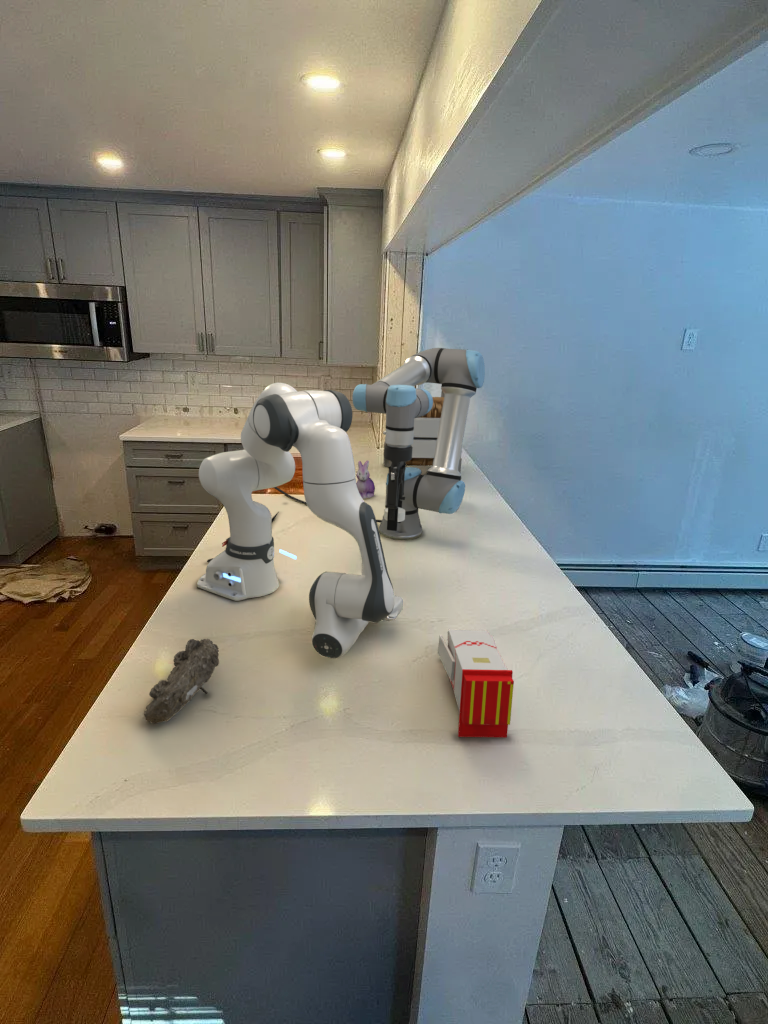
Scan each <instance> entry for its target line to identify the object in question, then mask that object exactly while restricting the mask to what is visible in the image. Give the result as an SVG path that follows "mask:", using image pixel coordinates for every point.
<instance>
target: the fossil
mask: <svg viewBox="0 0 768 1024" xmlns="http://www.w3.org/2000/svg"><path fill="white" fill-rule="evenodd" d="M184 648H185V649H184V650H179V651H177V652H176V654H175V655H174V656H173V658H174V659H173V668H172V670H170V673H169V674H168V676H167V678H166V679H161V680H159V681H158V683H155V685H154V686H153V687H152V688H150V691H149V693H148V695H149V697H150V698H152V700H151V701H150V702H149V704H148V705H146V707H145V710H144V718H145V721H146V722H149V723H151V724H158V723H164V722H165V723H166V722H168V721H170V720H171V718H172V717H174V716H175V715H176V714H177V713H179V712H180V711H181V710H182V709H183V708H184V707H185V706H186V705H187V704H188V703H189V702H190V701H192V699H193V698H194V696H195V694H197V693H198V692H199V691H202V693H204V694H205V695H208V691H207V690H206V689H205V688H204V687H202V686H203V685H204V683H205V684H206V683H208V682H209V680H210V679H211V677H212V675H213V673H214V671H215V669H216V668H217V667H218V666H219V664H220V660H219V659H220V658H219V656H220V653H219V652H220V650H219V646H218V645H217V644H216V643H214V642H213V640H212V639H210V638H203V639H201V640H198V639H195V638H190V639H188V640H187V643H186V644H185V647H184Z"/></svg>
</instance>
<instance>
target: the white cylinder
mask: <svg viewBox="0 0 768 1024" xmlns="http://www.w3.org/2000/svg"><path fill="white" fill-rule="evenodd" d="M383 510H384V511H383V515H384V519H385V520H387V518H388V508H385V507H384V509H383ZM404 520H405V510H404V509H403V508H399V507H398V522H401V521H404Z"/></svg>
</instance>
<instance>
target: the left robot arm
mask: <svg viewBox="0 0 768 1024" xmlns="http://www.w3.org/2000/svg"><path fill="white" fill-rule="evenodd" d="M352 423H353V408H352V405H351V403H350V400H349V398H348V397H347V396H346V394H344V393H342V392H341V391H337V390H333V389H323V390H316V389H313V390H312V389H304V390H299V391H298V390H297V389H296V388H295V387H293V386H292V385H290V384H287V383H285V382H274V383H271V384H269V385H267V386H266V387H265V388H264V390H263V391H261V393H260V394H259V395H258V397H257V398H256V400H255V401H254V403H253V405H252V407H251V409H250V410H249V413H248V416H247V418H246V420H245V422H244V425H243V428H242V429H241V431H240V442H241V445H242V447H243V449H240V450H239V449H238V450H231V451H223V452H219V453H216V454H212V455H210V456H208V457H205V458H203V460H202V462H201V463H200V465H199V469H198V480H199V483H200V486H201V487H202V488H203V490H204V491H206V492H207V494H208V495H210V496H212V497H214V498H216V499H217V500H218V501H219V502H220V503H221V504H222V506H223V508H224V509H225V512H226V514H227V518H228V519H227V520H228V527H229V537H227V538H226V539H225V540H224V541H223V542H222V543H221V544H222V545H221V547H222V548H223V547H225V546H226V547H225V549H224V550H223V551H221V552H220V553H219V554H217V555H216V556H214V557H212V558H209V559H207V560H206V563H207V565H206V567H205V573H204V574H202V576H200V577H199V579H198V581H197V583H196V584H197V585H196V587H197V588H198V589H201V590H204V591H206V592H210V593H213V594H216V595H218V596H221V597H223V598H226V599H229V600H232V601H236V602H238V601H239V602H240V601H242V600H243V601H244V600H246V599H251V598H252V599H253V598H260V597H264V596H267V595H269V594H272V593H274V592H275V591H276V590H278V589H279V587H280V581H279V578H278V575H277V571H276V566H275V561H274V560H275V559H274V558H275V541H274V539H275V538H274V537H273V523H272V518H273V515H272V513H271V510H270V509H269V508H268V507H267V506H266V505H265V504H263V503H261V502H258V501H256V500H253V497H252V496H253V495H252V494H253V492H256V491H263V490H267V489H275V488H274V487H277V488H278V487H280V486H283V485H284V484H287V483H289V482H290V481H292V479H293V478H294V476H295V472H296V462H295V458H294V456H293V454H292V453H291V449H292V448H295V449H296V450H297V451H298V452H299V455H300V458H301V463H302V464H301V465H302V468H301V469H302V486H303V487H302V488H303V496H304V499H305V502H306V504H307V505H306V504H305V505H306V506H307V508H308V509H309V510H310V511H311V513H312V514H313V515H314V516H316V517H317V518H319V519H320V520H322V521H324V522H325V523H328V524H331V525H333V526H335V527H337V528H339V529H341V530H343V531H344V532H346V533H348V534H349V535H350V536H351V537H352V538H354V540H355V542H356V543H357V545H358V549H359V554H360V558H361V564H362V563H363V568H364V572H365V575H361V574H357V573H347V572H338V571H337V572H335V571H323V572H322V573H321V574H319V575H318V576H317V578H316V579H315V580H314V582H313V583H312V585H311V587H310V589H309V593H308V594H309V595H308V604H309V608H310V611H311V614H312V616H313V618H314V620H315V625H314V630H313V633H312V635H311V645H312V647H313V650H315V652H316V653H317V654H318V655H320V656H322V657H324V658H327V659H339V658H341V657H343V656H344V655H346V653H348V651H349V650H350V649H351V648H352V647H353V646H354V645H355V643H356V642H357V640H358V638H359V637H360V634H361V633H362V632H363V631H364V630H365V628H366V627H367V625H368V624H369V623H373V624H378V623H381V622H382V621H383V622H392V621H395V620H397V618H398V616H400V614H401V613H402V612H403V610H404V598H403V597H402V596H400V595H395V590H394V586H393V583H392V580H391V577H390V573H389V571H388V568H387V563H386V557H385V553H384V548H383V544H382V543H383V542H382V540H381V534H380V532H379V525H378V522H376V520H377V518H376V515H375V512H374V510H373V507H372V506H371V505H370V504H369V503H367V502H366V501H365V500H364V499H362V497H361V495H360V493H359V491H358V488H357V485H356V483H357V476H356V467H355V466H356V465H355V458H354V454H353V448H352V444H351V440H350V436H349V435H348V433H347V432H348V431H349V430H350V428H351V427H352ZM279 553H280V554H282V555H284V556H286V557H289V558H291V559H293V560H297V555H295V554H293V553H291V552H290V553H289V552H288V551H286V550H283V549H281V548H280V549H279Z"/></svg>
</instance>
